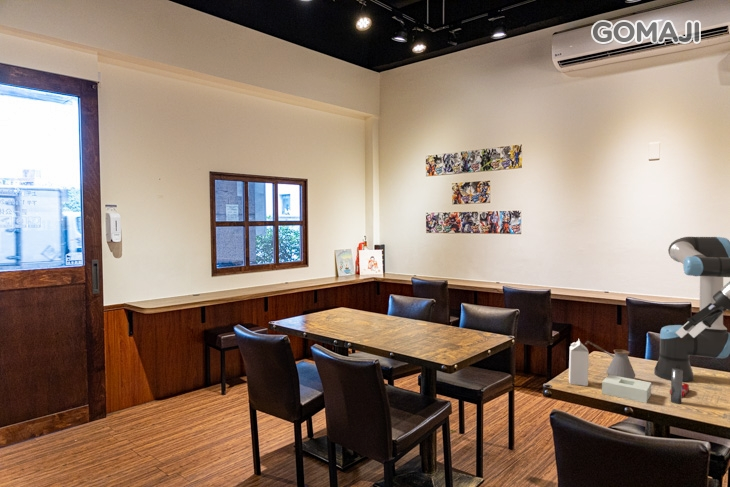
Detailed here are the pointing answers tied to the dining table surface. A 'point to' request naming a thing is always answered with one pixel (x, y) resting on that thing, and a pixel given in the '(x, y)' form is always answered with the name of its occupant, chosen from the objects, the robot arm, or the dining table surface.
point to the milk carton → (578, 364)
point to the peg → (676, 386)
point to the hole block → (626, 388)
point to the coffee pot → (619, 363)
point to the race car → (684, 389)
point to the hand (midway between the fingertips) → (684, 335)
